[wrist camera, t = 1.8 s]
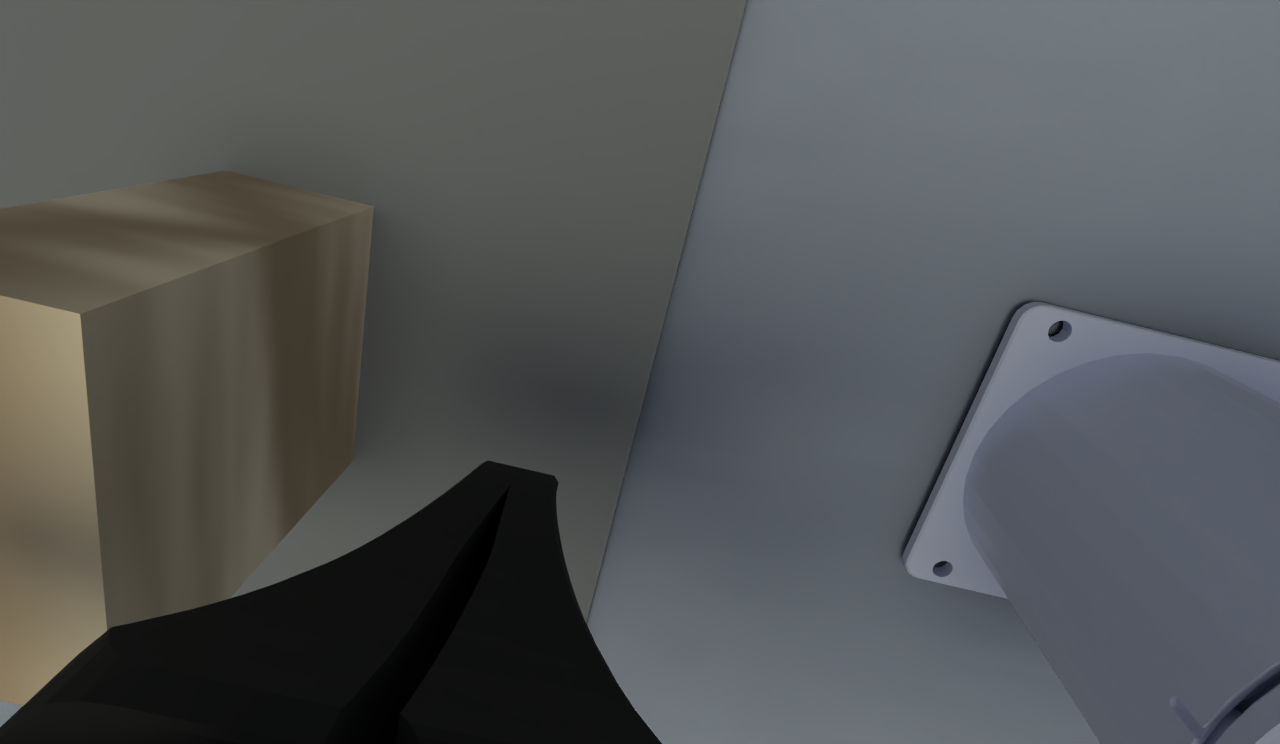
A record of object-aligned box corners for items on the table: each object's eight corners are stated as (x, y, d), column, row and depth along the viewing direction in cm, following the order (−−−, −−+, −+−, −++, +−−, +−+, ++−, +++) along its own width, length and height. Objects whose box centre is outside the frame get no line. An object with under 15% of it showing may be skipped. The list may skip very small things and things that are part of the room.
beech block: (373, 206, 16) (80, 313, 8) (353, 460, 19) (115, 725, 11) (218, 168, 16) (-229, 241, 8) (219, 430, 19) (-118, 674, 11)
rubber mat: (781, -137, 14) (784, -144, 13) (558, 725, 23) (556, 736, 22) (-362, -438, 13) (-392, -454, 12) (-119, 577, 22) (-133, 585, 22)
